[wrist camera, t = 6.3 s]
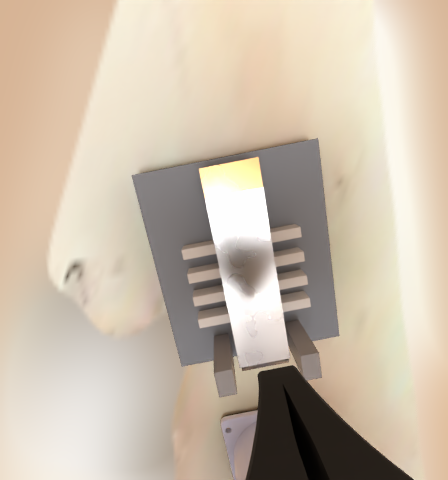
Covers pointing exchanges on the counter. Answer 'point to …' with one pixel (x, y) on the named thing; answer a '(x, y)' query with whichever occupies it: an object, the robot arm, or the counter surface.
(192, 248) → the heatsink base
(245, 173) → the orange-ended grey bar
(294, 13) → the counter surface
